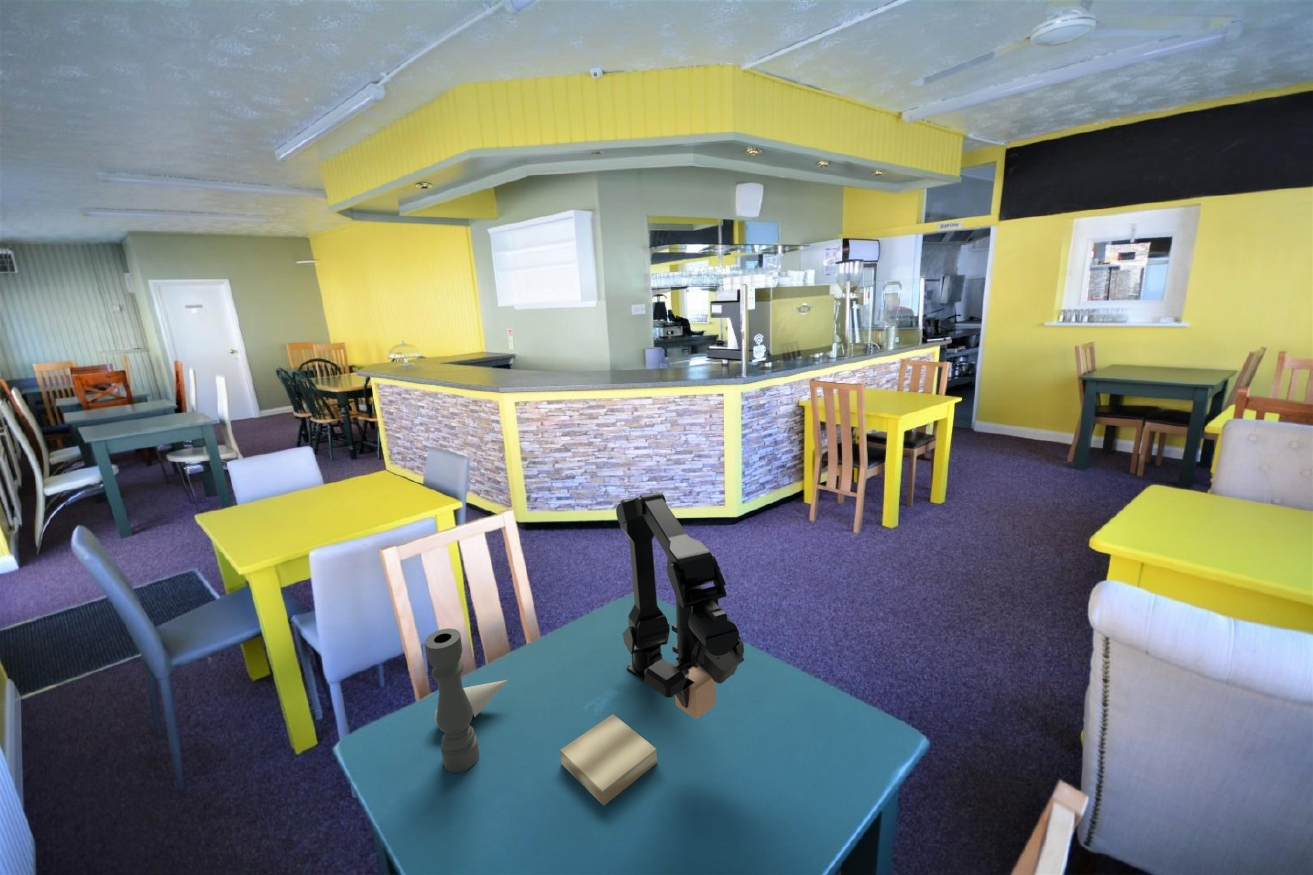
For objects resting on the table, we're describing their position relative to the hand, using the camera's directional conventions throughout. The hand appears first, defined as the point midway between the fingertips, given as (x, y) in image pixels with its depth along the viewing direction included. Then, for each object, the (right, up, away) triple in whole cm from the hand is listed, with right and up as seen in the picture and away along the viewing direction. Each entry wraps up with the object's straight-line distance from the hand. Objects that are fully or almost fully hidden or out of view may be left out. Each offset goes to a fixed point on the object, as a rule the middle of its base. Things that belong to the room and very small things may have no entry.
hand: (695, 698), depth 101 cm
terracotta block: (0, -1, 0) cm, 1 cm away
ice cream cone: (-43, -9, +14) cm, 46 cm away
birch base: (-15, -12, +1) cm, 19 cm away
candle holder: (-42, -12, +3) cm, 44 cm away
